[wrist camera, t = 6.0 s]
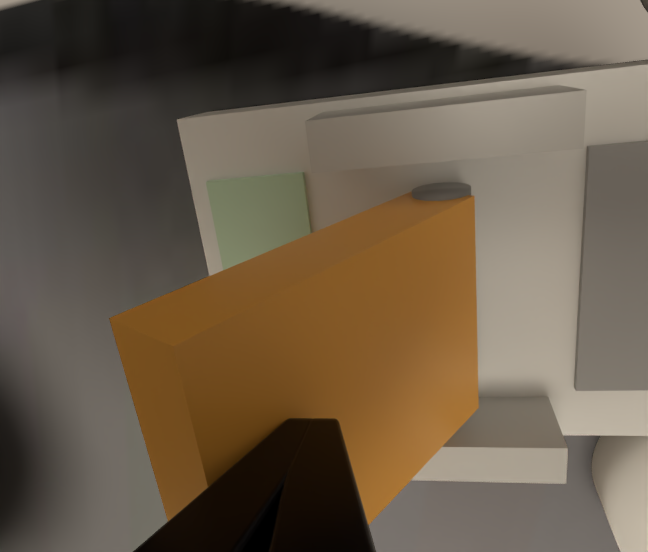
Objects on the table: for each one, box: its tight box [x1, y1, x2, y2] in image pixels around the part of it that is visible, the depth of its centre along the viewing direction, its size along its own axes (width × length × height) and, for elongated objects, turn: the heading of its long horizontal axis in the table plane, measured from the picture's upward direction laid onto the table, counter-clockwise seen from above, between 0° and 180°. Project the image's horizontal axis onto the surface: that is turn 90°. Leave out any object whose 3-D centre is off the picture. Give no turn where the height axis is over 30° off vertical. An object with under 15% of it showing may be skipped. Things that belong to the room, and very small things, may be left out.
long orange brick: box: [109, 182, 479, 525], centre depth 10 cm, size 2×5×8 cm
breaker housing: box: [177, 60, 648, 484], centre depth 13 cm, size 12×9×4 cm
